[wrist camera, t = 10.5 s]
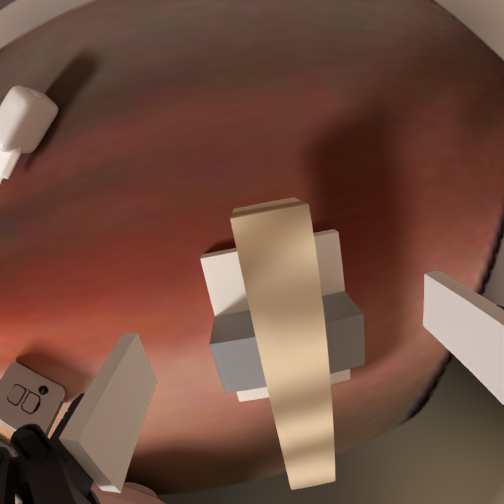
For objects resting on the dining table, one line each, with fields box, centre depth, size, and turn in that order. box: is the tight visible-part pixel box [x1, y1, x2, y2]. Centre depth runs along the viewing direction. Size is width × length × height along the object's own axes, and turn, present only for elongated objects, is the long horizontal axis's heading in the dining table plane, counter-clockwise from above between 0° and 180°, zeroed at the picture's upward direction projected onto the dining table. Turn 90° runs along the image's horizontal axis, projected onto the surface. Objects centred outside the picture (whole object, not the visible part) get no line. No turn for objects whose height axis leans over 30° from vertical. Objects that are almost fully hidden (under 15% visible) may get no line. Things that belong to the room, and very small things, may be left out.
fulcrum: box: [201, 229, 365, 402], centre depth 26 cm, size 16×12×6 cm
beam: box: [230, 197, 335, 490], centre depth 21 cm, size 24×4×5 cm, turn 11°
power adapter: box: [0, 85, 58, 184], centre depth 22 cm, size 11×5×6 cm, turn 139°
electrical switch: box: [0, 362, 65, 436], centre depth 28 cm, size 9×5×9 cm, turn 72°
